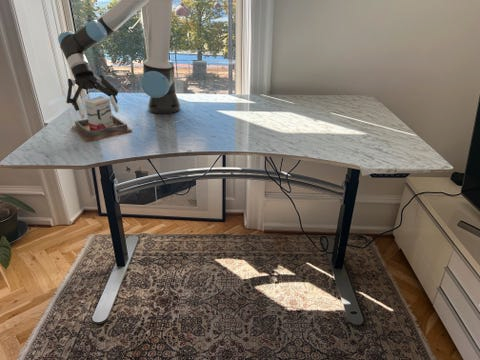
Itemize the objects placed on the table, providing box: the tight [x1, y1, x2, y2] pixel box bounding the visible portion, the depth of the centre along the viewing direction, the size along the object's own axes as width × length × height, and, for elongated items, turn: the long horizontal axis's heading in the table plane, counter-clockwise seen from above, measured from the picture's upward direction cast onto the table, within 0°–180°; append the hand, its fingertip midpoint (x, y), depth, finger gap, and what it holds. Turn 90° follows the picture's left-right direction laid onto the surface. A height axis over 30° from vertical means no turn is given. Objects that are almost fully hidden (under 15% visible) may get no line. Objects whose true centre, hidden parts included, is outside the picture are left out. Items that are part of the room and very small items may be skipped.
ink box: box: [84, 95, 113, 130], centre depth 138 cm, size 8×5×12 cm, turn 153°
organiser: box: [71, 114, 133, 142], centre depth 140 cm, size 18×18×3 cm
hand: (100, 113), depth 136 cm, fingers open, 13 cm apart
